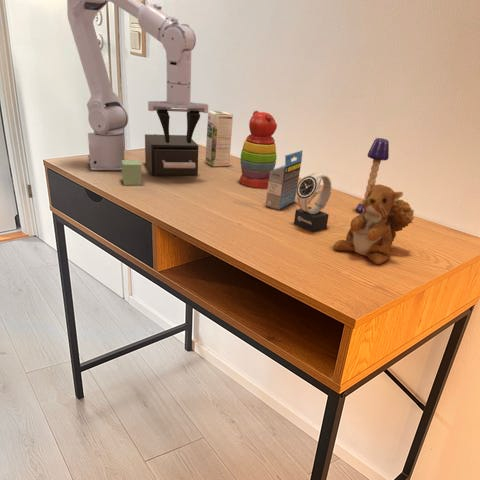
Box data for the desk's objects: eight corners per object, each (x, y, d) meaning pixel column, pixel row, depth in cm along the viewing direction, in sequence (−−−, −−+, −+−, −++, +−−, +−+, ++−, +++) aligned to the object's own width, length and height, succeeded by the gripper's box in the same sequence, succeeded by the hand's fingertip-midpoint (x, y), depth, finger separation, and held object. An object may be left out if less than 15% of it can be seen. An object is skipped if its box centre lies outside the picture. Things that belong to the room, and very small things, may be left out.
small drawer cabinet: (197, 175, 134) (198, 145, 130) (151, 175, 130) (151, 144, 126) (187, 163, 144) (188, 135, 140) (145, 163, 141) (144, 134, 137)
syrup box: (204, 162, 147) (206, 110, 140) (222, 161, 150) (225, 110, 142) (211, 166, 143) (214, 113, 136) (230, 166, 145) (233, 113, 138)
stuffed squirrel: (329, 250, 94) (341, 181, 88) (369, 235, 103) (383, 172, 96) (373, 268, 88) (390, 196, 82) (411, 250, 97) (430, 184, 91)
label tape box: (281, 198, 121) (287, 146, 115) (296, 201, 120) (303, 149, 113) (264, 206, 115) (270, 152, 108) (280, 210, 113) (286, 155, 107)
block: (123, 185, 121) (123, 164, 118) (122, 180, 124) (121, 159, 122) (142, 184, 122) (141, 164, 120) (139, 180, 126) (139, 160, 123)
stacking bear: (284, 186, 130) (293, 115, 121) (252, 190, 125) (259, 115, 116) (261, 176, 138) (268, 108, 129) (230, 179, 133) (235, 108, 124)
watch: (287, 225, 105) (294, 173, 99) (312, 219, 109) (320, 169, 104) (306, 233, 101) (314, 180, 96) (332, 227, 106) (341, 175, 100)
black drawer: (201, 179, 127) (202, 155, 124) (158, 179, 124) (157, 154, 121) (188, 163, 141) (188, 140, 138) (148, 162, 138) (148, 139, 135)
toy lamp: (376, 210, 118) (392, 138, 110) (375, 216, 114) (392, 142, 106) (356, 207, 119) (370, 135, 111) (354, 213, 115) (369, 139, 107)
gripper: (150, 83, 112) (151, 145, 119) (212, 86, 116) (209, 146, 123) (146, 79, 117) (147, 139, 124) (205, 83, 121) (203, 140, 128)
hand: (178, 142), depth 124 cm, fingers open, 5 cm apart
